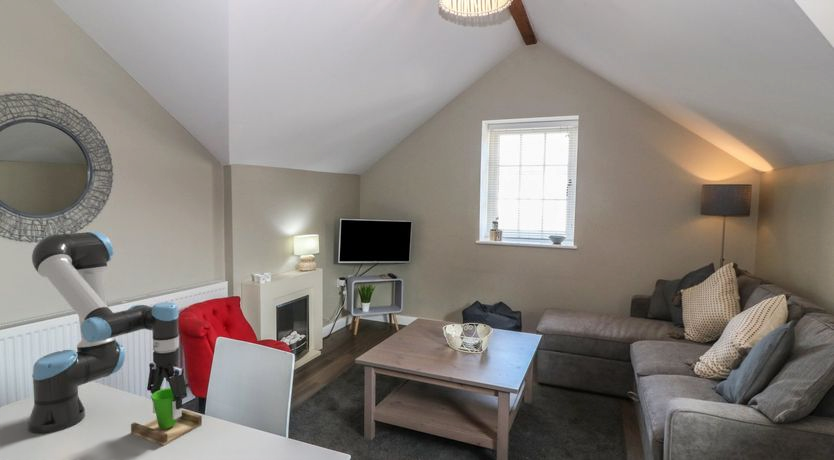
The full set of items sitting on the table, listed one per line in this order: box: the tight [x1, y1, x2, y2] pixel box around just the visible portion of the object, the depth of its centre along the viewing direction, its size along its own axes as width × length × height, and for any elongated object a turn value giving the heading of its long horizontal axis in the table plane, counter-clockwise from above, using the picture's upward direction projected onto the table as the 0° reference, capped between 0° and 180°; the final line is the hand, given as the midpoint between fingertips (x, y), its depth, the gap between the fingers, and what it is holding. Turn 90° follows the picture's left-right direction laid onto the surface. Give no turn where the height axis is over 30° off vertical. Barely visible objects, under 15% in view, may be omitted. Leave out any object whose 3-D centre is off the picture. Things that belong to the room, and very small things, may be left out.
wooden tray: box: [130, 409, 203, 446], centre depth 148 cm, size 16×14×3 cm
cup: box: [150, 387, 178, 429], centre depth 147 cm, size 9×9×11 cm
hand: (167, 414), depth 147 cm, fingers closed on cup, 9 cm apart
